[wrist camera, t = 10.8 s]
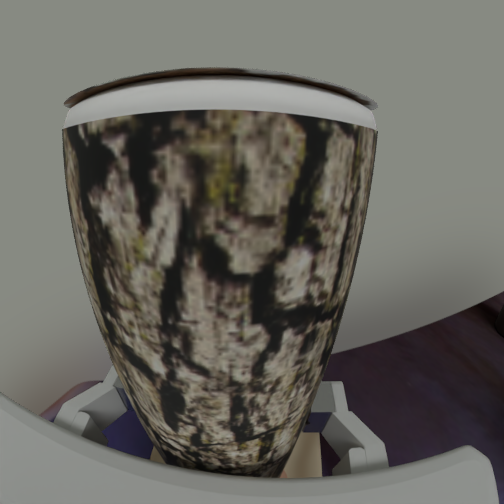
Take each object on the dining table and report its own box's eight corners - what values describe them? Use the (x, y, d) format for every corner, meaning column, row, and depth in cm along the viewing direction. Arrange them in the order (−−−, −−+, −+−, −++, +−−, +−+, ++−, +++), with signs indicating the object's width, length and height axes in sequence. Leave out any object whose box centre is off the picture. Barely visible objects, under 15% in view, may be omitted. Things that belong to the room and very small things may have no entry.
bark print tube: (188, 452, 19) (128, 110, 8) (266, 451, 20) (319, 113, 9) (187, 518, 13) (-13, 115, 2) (275, 517, 14) (458, 116, 3)
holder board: (315, 436, 24) (319, 429, 23) (319, 553, 11) (325, 552, 11) (165, 423, 25) (162, 415, 24) (135, 533, 12) (128, 531, 11)
